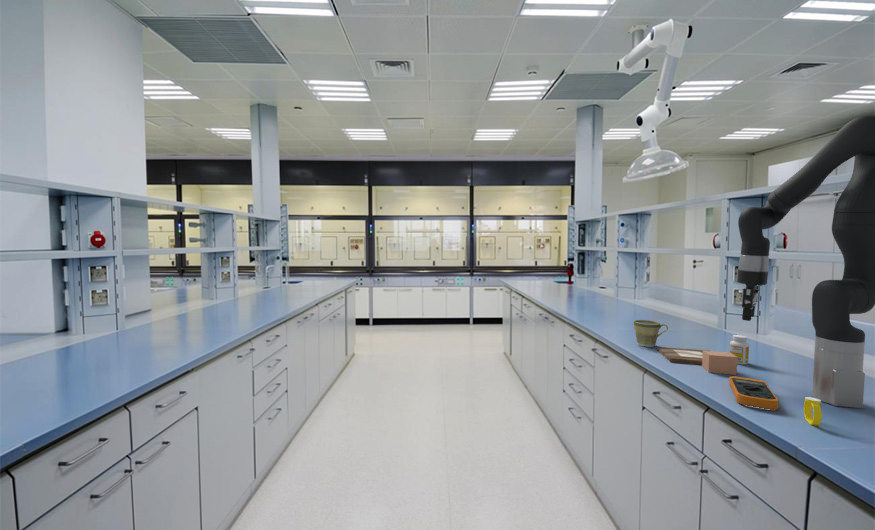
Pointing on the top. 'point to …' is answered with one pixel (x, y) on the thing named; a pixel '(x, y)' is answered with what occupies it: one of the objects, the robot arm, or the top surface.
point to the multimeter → (753, 393)
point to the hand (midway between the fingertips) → (748, 318)
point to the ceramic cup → (647, 332)
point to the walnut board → (682, 355)
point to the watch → (817, 413)
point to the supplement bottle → (740, 349)
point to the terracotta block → (719, 362)
